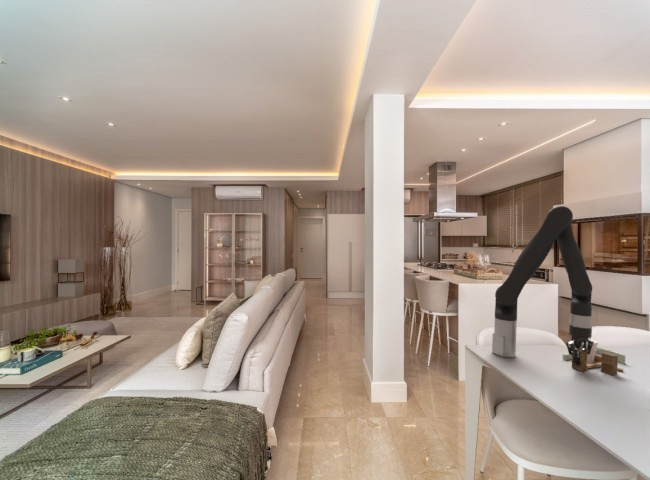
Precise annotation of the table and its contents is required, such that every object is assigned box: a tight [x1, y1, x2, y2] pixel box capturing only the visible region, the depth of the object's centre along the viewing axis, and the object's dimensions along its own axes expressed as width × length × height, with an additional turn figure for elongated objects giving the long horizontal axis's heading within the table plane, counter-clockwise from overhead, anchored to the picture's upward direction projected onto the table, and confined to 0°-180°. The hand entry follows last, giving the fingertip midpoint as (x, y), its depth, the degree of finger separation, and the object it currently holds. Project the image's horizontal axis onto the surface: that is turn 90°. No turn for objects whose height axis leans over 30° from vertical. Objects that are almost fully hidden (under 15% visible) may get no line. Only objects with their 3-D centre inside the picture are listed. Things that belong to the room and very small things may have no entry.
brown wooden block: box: [600, 352, 624, 376], centre depth 130 cm, size 10×4×8 cm, turn 108°
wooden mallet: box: [571, 348, 602, 372], centre depth 138 cm, size 20×10×8 cm, turn 108°
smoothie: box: [587, 337, 599, 364], centre depth 141 cm, size 6×6×14 cm
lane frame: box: [562, 346, 626, 365], centre depth 142 cm, size 24×11×4 cm, turn 108°
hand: (579, 364), depth 132 cm, fingers closed on wooden mallet, 3 cm apart
